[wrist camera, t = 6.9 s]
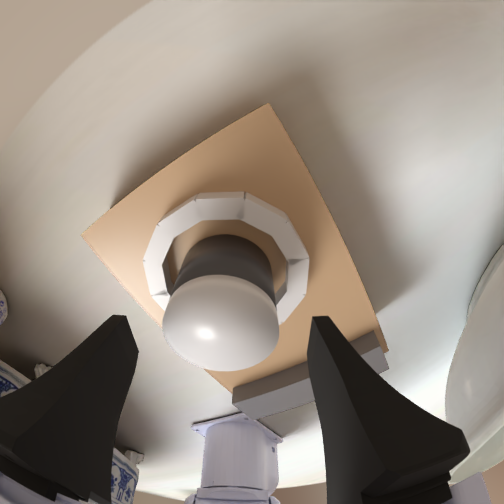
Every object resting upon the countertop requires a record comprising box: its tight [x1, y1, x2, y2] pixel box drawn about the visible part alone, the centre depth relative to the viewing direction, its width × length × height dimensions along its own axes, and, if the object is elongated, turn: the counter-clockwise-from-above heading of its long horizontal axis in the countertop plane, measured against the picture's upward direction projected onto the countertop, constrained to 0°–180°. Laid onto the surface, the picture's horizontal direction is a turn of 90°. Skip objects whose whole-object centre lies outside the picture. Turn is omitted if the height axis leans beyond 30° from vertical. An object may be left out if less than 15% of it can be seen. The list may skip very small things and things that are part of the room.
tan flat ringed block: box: [81, 103, 389, 420], centre depth 18 cm, size 18×12×6 cm, turn 31°
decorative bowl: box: [0, 360, 144, 504], centre depth 26 cm, size 42×27×15 cm, turn 14°
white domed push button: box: [162, 234, 279, 371], centre depth 13 cm, size 5×5×4 cm
